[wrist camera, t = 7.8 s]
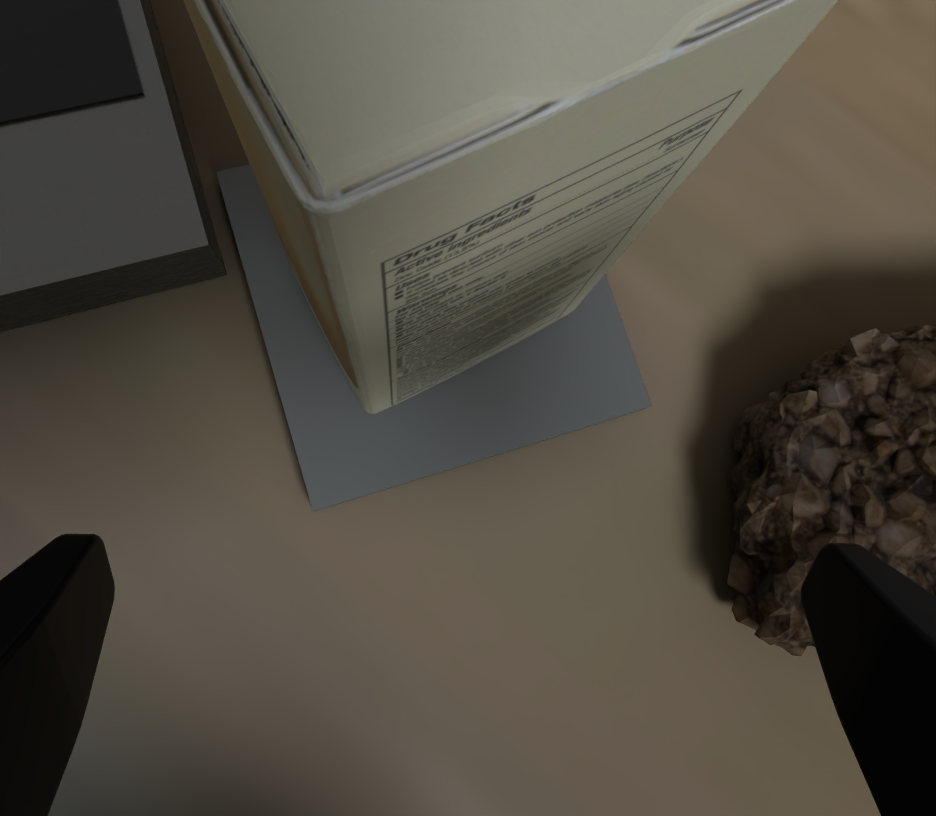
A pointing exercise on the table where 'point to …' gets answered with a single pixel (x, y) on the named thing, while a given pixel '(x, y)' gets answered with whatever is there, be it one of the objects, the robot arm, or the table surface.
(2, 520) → the table surface
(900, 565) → the concrete sample
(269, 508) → the table surface
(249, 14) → the skincare box
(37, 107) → the grey black flat block
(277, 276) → the pad
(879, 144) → the table surface
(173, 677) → the table surface
